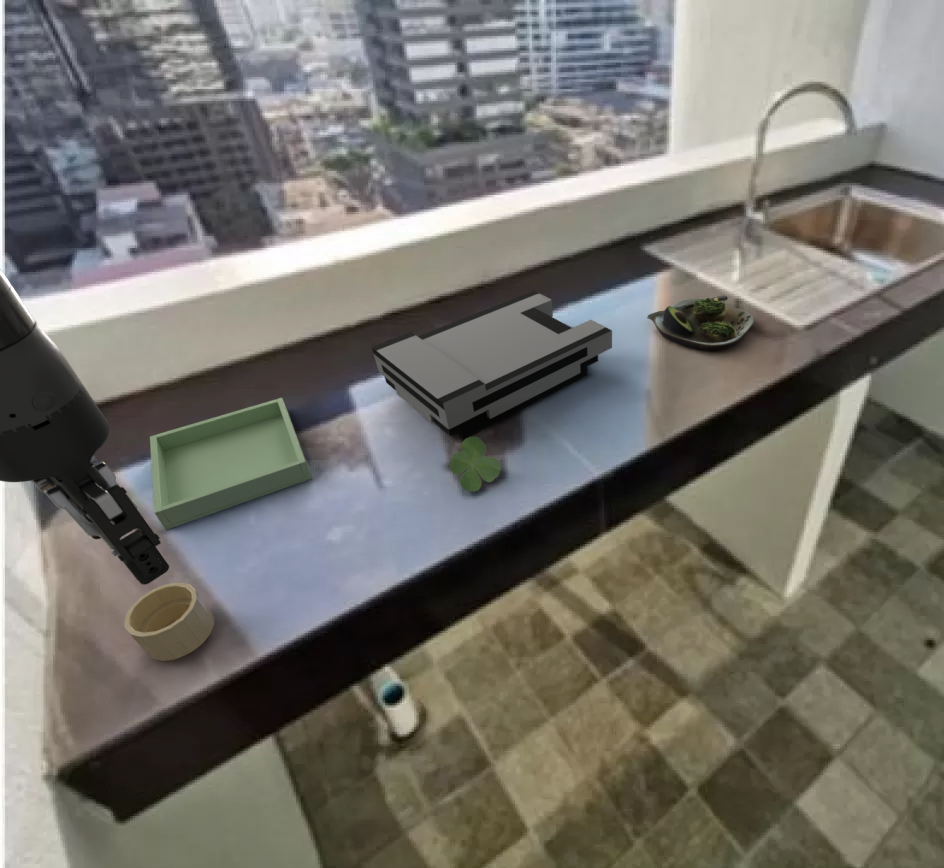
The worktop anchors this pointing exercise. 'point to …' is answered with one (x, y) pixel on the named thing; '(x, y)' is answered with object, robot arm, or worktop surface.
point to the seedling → (474, 464)
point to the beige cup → (169, 621)
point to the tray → (224, 462)
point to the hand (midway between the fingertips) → (130, 553)
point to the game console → (490, 363)
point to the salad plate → (702, 323)
